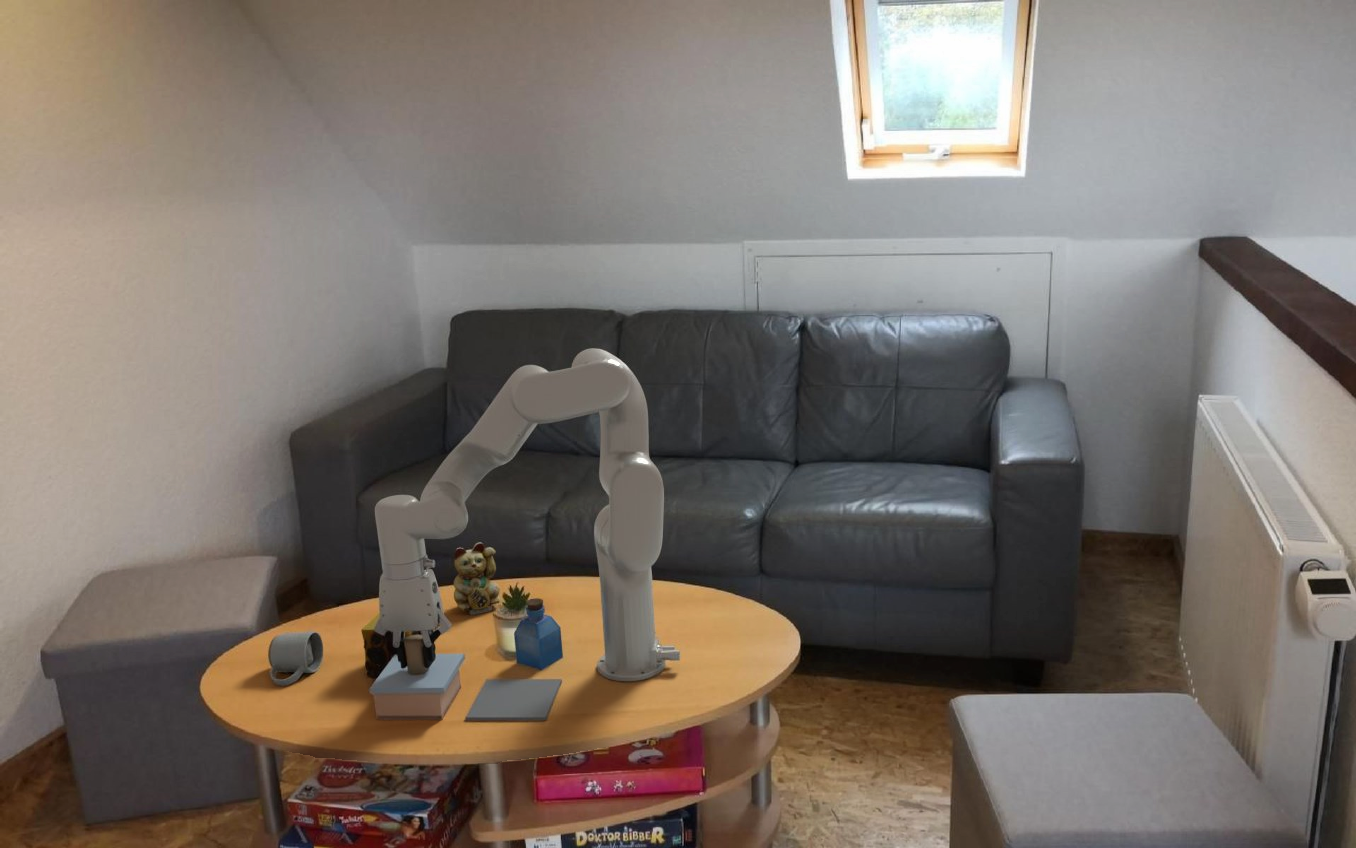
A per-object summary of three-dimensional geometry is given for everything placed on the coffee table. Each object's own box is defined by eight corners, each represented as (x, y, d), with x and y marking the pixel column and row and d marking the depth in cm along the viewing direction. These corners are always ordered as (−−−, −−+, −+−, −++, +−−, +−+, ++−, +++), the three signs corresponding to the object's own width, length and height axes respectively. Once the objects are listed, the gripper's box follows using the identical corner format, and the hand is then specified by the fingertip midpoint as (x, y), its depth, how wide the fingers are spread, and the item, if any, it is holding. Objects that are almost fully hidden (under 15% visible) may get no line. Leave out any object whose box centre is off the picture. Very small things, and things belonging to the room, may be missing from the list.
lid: (465, 658, 203) (460, 622, 202) (444, 693, 191) (439, 655, 189) (395, 659, 205) (390, 624, 203) (370, 694, 192) (365, 656, 190)
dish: (461, 688, 204) (458, 662, 203) (442, 720, 193) (439, 693, 192) (399, 688, 205) (396, 663, 204) (376, 719, 194) (373, 693, 193)
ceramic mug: (286, 661, 219) (280, 624, 217) (326, 661, 218) (321, 624, 216) (260, 687, 209) (254, 650, 207) (302, 688, 208) (296, 650, 206)
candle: (415, 682, 207) (409, 632, 205) (365, 679, 210) (359, 630, 207) (437, 657, 217) (432, 609, 215) (389, 655, 219) (383, 607, 217)
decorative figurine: (461, 620, 234) (454, 552, 230) (449, 607, 241) (442, 541, 237) (505, 609, 238) (499, 542, 235) (492, 596, 245) (485, 531, 242)
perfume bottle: (562, 657, 214) (558, 598, 211) (541, 670, 209) (536, 610, 206) (538, 650, 218) (533, 593, 215) (516, 663, 213) (511, 604, 210)
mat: (561, 682, 204) (561, 679, 204) (546, 720, 191) (545, 717, 191) (486, 682, 206) (486, 679, 206) (465, 720, 192) (465, 717, 192)
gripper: (458, 558, 196) (469, 654, 200) (366, 560, 197) (379, 656, 202) (445, 574, 188) (457, 674, 193) (350, 576, 190) (364, 675, 195)
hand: (417, 664), depth 197 cm, fingers closed on lid, 3 cm apart
